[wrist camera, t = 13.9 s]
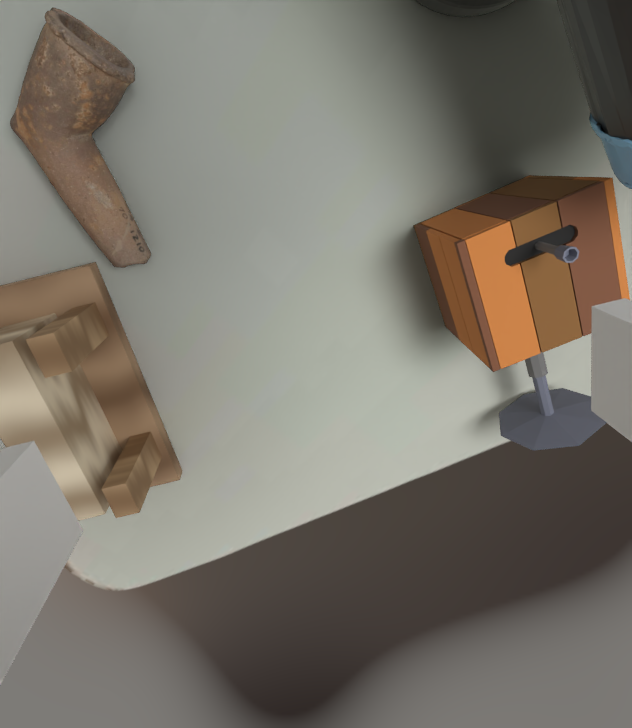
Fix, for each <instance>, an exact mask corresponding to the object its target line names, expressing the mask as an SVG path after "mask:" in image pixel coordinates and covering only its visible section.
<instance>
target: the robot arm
mask: <svg viewBox="0 0 632 728" xmlns="http://www.w3.org/2000/svg"><path fill="white" fill-rule="evenodd" d="M416 1H417V2H419V3H420V4H422V5H423V6H425V7H427V8H429V9H431V10H433V11H436V12H439V13H442V14H446V15H451V16H460V17H468V16H478V15H482V14H486V13H490V12H493V11H495V10H498V9H500V8H502V7H504V6H506V5H508V4H510V3H512V2H513V1H515V0H416ZM557 3H558V6H559V9H560V13H561V16H562V19H563V23H564V26H565V29H566V32H567V36H568V39H569V42H570V46H571V49H572V52H573V56H574V59H575V62H576V65H577V69H578V72H579V75H580V79H581V82H582V85H583V89H584V92H585V95H586V98H587V102H588V105H589V108H590V117H589V120H590V124H591V126H592V129H593V130H594V132H595V133H596V134H597V135H598V136H599V137H600V138H601V140H602V143H603V145H604V148H605V151H606V153H607V156H608V159H609V161H610V164H611V167H612V169H613V172H614V174H615V175H616V177H617V178H618V179H619V181H620V182H621V183H622V184H623V185H625V186H626V187H628V188H630V189H632V0H557ZM591 411H592V412H594V413H595V414H596V415H597V416H599V417H600V418H601V419H603V420H604V421H605V422H607V423H608V424H609V425H610V426H612V427H613V428H614V429H616V430H617V431H618V432H619V433H621V434H622V435H624V436H625V437H626V438H627V439H628V440H630V441H631V442H632V301H631V300H629V299H626V298H624V299H620V300H615V301H611V302H607V303H603V304H599V305H595V306H592V336H591ZM82 533H83V529H82V527H81V525H80V523H79V521H78V520H77V518H76V516H75V514H74V512H73V511H72V509H71V507H70V505H69V503H68V502H67V500H66V498H65V496H64V494H63V492H62V491H61V489H60V487H59V485H58V483H57V482H56V480H55V478H54V476H53V474H52V473H51V471H50V469H49V467H48V465H47V463H46V462H45V460H44V458H43V456H42V454H41V453H40V451H39V449H38V447H37V445H36V444H35V442H34V441H30V442H26V443H22V444H18V445H14V446H10V447H6V448H2V449H1V450H0V685H1V683H2V681H3V679H4V677H5V675H6V673H7V672H8V670H9V668H10V666H11V664H12V662H13V661H14V659H15V657H16V655H17V653H18V651H19V649H20V648H21V646H22V644H23V642H24V640H25V638H26V636H27V635H28V633H29V631H30V629H31V627H32V625H33V623H34V621H35V620H36V618H37V616H38V614H39V612H40V610H41V609H42V607H43V605H44V603H45V601H46V599H47V597H48V596H49V594H50V592H51V590H52V588H53V586H54V584H55V582H56V581H57V579H58V577H59V575H60V573H61V571H62V570H63V568H64V566H65V564H66V562H67V560H68V558H69V557H70V555H71V553H72V551H73V549H74V547H75V546H76V544H77V542H78V540H79V538H80V536H81V534H82Z"/></svg>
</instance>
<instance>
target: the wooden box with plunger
mask: <svg viewBox="0 0 632 728" xmlns="http://www.w3.org/2000/svg"><path fill="white" fill-rule="evenodd" d="M414 229H415V232H416V235H417V238H418V241H419V244H420V247H421V251H422V254H423V257H424V260H425V263H426V266H427V270H428V273H429V276H430V279H431V282H432V285H433V288H434V292H435V295H436V298H437V301H438V304H439V307H440V311H441V314H442V317H443V320H444V323H445V326H446V328H447V329H449V330H450V331H451V332H452V333H453V334H454V335H455V336H456V337H457V338H458V339H459V340H460V341H461V342H462V343H463V344H464V345H465V346H466V347H467V348H469V349H470V350H471V351H472V352H473V353H474V354H475V355H476V356H477V357H478V358H479V359H480V360H481V361H483V362H484V363H485V364H486V365H487V366H488V367H489V368H490V369H491V370H492V371H493V372H494V371H497V370H499V369H502V368H505V367H507V366H510V365H512V364H515V363H517V362H520V361H522V360H525V362H526V366H527V370H528V374H529V376H530V377H532V378H533V382H534V386H535V390H536V392H535V393H529V394H523V395H522V396H521V397H520V398H518V399H517V400H516V401H514V402H513V403H512V404H510V405H509V406H508V407H506V408H505V409H504V410H502V411H501V412H500V413H499V418H500V430H501V436H503V437H505V438H507V439H509V440H511V441H514V442H516V443H518V444H520V445H522V446H524V447H527V448H529V449H531V450H542V449H551V448H560V447H569V446H578V445H580V444H582V443H583V442H584V441H585V440H586V439H588V438H589V437H590V436H591V435H592V434H594V433H595V432H596V431H597V430H598V429H600V428H601V427H602V426H603V425H604V424H606V423H607V422H605V421H604V420H603V419H601V418H600V417H599V416H597V415H596V414H595V413H594V412H592V411H591V397H590V396H587V395H584V394H580V393H577V392H573V391H570V390H567V389H563V388H561V389H554V390H549V389H548V384H547V380H546V376H545V375H546V374H547V373H548V372H547V367H546V363H545V359H544V354H543V352H545V351H548V350H550V349H553V348H555V347H558V346H560V345H563V344H565V343H568V342H570V341H573V340H575V339H578V338H580V337H582V336H585V335H588V334H590V333H592V306H595V305H599V304H603V303H607V302H611V301H615V300H620V299H624V298H626V299H629V300H630V298H629V291H628V284H627V277H626V270H625V263H624V256H623V249H622V242H621V235H620V227H619V220H618V213H617V206H616V199H615V192H614V185H613V178H604V177H567V176H530V175H529V176H527V177H525V178H522V179H520V180H518V181H516V182H513V183H511V184H509V185H506V186H504V187H502V188H499V189H497V190H495V191H492V192H490V193H489V194H485V195H483V196H481V197H478V198H476V199H474V200H471V201H469V202H467V203H464V204H462V205H460V206H458V207H455V208H454V209H451V210H448V211H446V212H444V213H441V214H439V215H437V216H434V217H432V218H430V219H427V220H425V221H423V222H420V223H418V224H416V225H414Z"/></svg>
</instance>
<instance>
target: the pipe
mask: <svg viewBox="0 0 632 728" xmlns="http://www.w3.org/2000/svg"><path fill="white" fill-rule="evenodd" d="M45 20H46V24H45V25H44V27H43V29H42V31H41V33H40V36H39V39H38V41H37V43H36V46H35V49H34V51H33V54H32V57H31V59H30V62H29V65H28V68H27V72H26V75H25V78H24V81H23V85H22V89H21V94H20V97H19V101H18V105H17V108H16V111H15V113H14V115H13V117H12V119H11V121H10V125H11V128H12V129H13V131H14V132H15V133H16V134H17V135H18V137H19V138H20V139H21V140H22V141H23V142H24V144H25V145H26V146H27V148H28V149H29V151H30V152H31V153H32V155H33V156H34V158H35V159H36V160H37V162H38V164H39V165H40V167H41V168H42V170H43V171H44V173H45V174H46V175H47V177H48V179H49V180H50V182H51V184H52V185H53V186H54V187H55V189H56V190H57V192H58V194H59V195H60V197H61V198H62V199H63V201H64V202H65V203H66V205H67V206H68V208H69V209H70V210H71V211H72V213H73V214H74V216H75V217H76V218H77V220H78V221H79V222H80V224H81V225H82V226H83V228H84V229H85V230H86V232H87V233H88V234H89V236H90V237H91V238H92V240H93V241H94V242H95V244H96V245H97V246H98V247H99V248H100V250H101V251H102V252H103V253H104V255H105V256H106V257H107V258H108V259H109V261H110V262H111V263H112V265H113V266H114V267H126V266H128V265H132V264H139V263H140V264H145V263H147V261H148V259H149V258H150V256H151V253H150V250H149V248H148V246H147V245H146V243H145V240H144V239H143V237H142V235H141V232H140V230H139V228H138V226H137V224H136V222H135V220H134V218H133V216H132V214H131V212H130V210H129V208H128V206H127V204H126V202H125V200H124V198H123V196H122V194H121V192H120V189H119V187H118V186H117V184H116V182H115V180H114V178H113V176H112V174H111V173H110V171H109V169H108V167H107V165H106V163H105V161H104V160H103V158H102V156H101V154H100V152H99V150H98V148H97V146H96V144H95V142H94V140H93V138H92V133H93V132H94V131H95V130H96V129H97V128H98V127H99V126H101V124H103V123H104V122H105V121H106V120H107V118H108V117H109V116H110V115H111V113H112V112H113V111H114V109H115V108H116V106H117V105H118V103H119V101H120V100H121V98H122V96H123V94H124V92H125V90H126V88H127V87H128V86H129V85H130V84H131V83H133V82H134V81H135V75H134V72H135V67H134V66H133V64H132V63H131V62H130V61H129V60H128V59H127V58H126V56H125V55H124V54H123V53H122V52H120V51H119V50H118V49H117V48H116V47H115V46H113V45H112V44H111V43H110V42H108V41H107V40H106V39H104V38H103V37H101V36H100V35H98V34H97V33H96V32H94V31H93V30H92V29H90V28H89V27H88V26H86V25H85V24H84V23H82V22H81V21H79V20H78V19H76V18H75V17H73V16H71V15H69V14H68V13H66V12H64V11H62V10H60V9H56V8H52V9H51V10H50V11H47V12H46V14H45Z"/></svg>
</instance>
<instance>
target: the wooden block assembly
mask: <svg viewBox="0 0 632 728" xmlns="http://www.w3.org/2000/svg"><path fill="white" fill-rule="evenodd" d="M54 313H55V314H56V316H57V319H55V320H54V321H52V322H51V323H49V324H48V325H46V326H45V327H43V328H42V329H40V330H39V331H37V332H36V333H35V334H33V335H32V336H30V337H29V338H27V339H26V342H27V344H28V346H29V348H30V350H31V352H32V354H33V356H34V358H35V359H36V361H37V363H38V365H39V367H40V369H41V371H42V373H43V375H44V377H45V378H48V377H52V376H56V375H60V374H64V373H68V372H72V371H73V370H74V369H75V368H76V367H77V366H78V365H79V364H80V365H81V367H82V369H83V371H84V373H85V375H86V377H87V380H88V382H89V384H90V386H91V388H92V390H93V392H94V394H95V396H96V398H97V400H98V402H99V404H100V406H101V408H102V410H103V412H104V414H105V416H106V419H107V421H108V423H109V425H110V427H111V429H112V431H113V433H114V435H115V437H116V439H117V441H118V443H119V445H120V447H121V449H122V453H121V454H120V456H119V458H118V460H117V462H116V463H115V465H114V467H113V469H112V471H111V473H110V474H109V476H108V478H107V480H106V482H105V483H104V485H103V487H102V491H103V493H104V495H105V497H106V499H107V501H108V503H109V505H110V507H111V509H112V511H113V513H114V515H115V517H116V518H118V517H122V516H126V515H131V514H135V513H139V512H140V510H141V508H142V505H143V503H144V500H145V498H146V495H147V493H148V490H149V488H150V487H152V486H156V485H160V484H164V483H169V482H173V481H177V480H180V477H181V474H182V469H181V466H180V464H179V461H178V459H177V457H176V454H175V452H174V449H173V447H172V445H171V442H170V440H169V437H168V435H167V433H166V430H165V428H164V425H163V423H162V421H161V418H160V416H159V413H158V411H157V409H156V406H155V404H154V401H153V399H152V396H151V394H150V392H149V389H148V387H147V384H146V382H145V380H144V377H143V375H142V372H141V370H140V368H139V365H138V363H137V360H136V358H135V356H134V353H133V351H132V348H131V346H130V344H129V341H128V339H127V336H126V334H125V332H124V329H123V327H122V324H121V322H120V319H119V317H118V315H117V312H116V310H115V307H114V305H113V303H112V300H111V298H110V295H109V293H108V291H107V288H106V286H105V283H104V281H103V279H102V276H101V274H100V271H99V269H98V267H97V264H96V262H94V263H90V264H86V265H82V266H78V267H74V268H70V269H66V270H62V271H58V272H54V273H50V274H46V275H42V276H38V277H34V278H30V279H26V280H22V281H18V282H13V283H9V284H5V285H1V286H0V329H1V328H3V327H4V326H8V325H12V324H16V323H19V322H23V321H27V320H31V319H35V318H38V317H42V316H46V315H50V314H54Z"/></svg>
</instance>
